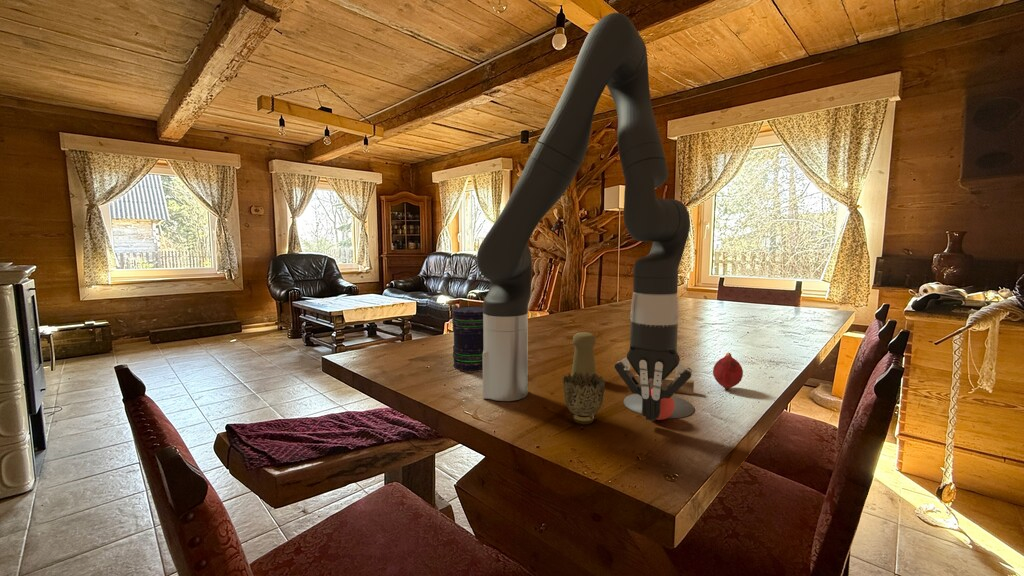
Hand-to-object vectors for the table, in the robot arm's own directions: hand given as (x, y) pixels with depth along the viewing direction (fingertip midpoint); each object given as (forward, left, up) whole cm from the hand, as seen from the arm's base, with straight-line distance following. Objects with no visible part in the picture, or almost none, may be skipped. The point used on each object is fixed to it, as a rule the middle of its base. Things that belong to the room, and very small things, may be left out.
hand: (650, 418), depth 74 cm
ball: (+2, +4, +1) cm, 5 cm away
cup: (-11, +3, -2) cm, 12 cm away
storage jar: (-34, +38, -2) cm, 51 cm away
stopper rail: (+9, +19, -2) cm, 21 cm away
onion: (+23, +20, -2) cm, 30 cm away
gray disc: (+5, +10, -2) cm, 11 cm away
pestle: (-7, +27, -2) cm, 28 cm away
